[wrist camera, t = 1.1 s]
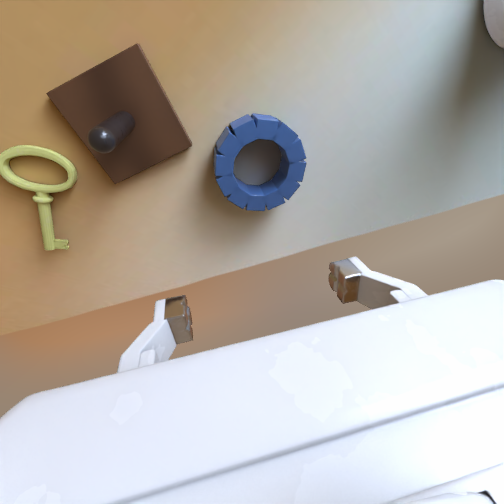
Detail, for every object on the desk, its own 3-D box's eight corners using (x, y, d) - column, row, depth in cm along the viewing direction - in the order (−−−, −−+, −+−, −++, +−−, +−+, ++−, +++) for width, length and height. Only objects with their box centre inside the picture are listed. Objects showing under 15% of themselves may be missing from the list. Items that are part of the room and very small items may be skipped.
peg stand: (139, 44, 27) (111, 34, 18) (192, 143, 32) (190, 172, 24) (51, 92, 28) (-17, 105, 19) (117, 180, 33) (89, 222, 25)
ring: (280, 97, 31) (289, 101, 28) (306, 178, 37) (315, 188, 34) (198, 138, 32) (198, 146, 29) (235, 211, 38) (238, 223, 35)
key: (53, 246, 37) (45, 255, 35) (-8, 149, 30) (-20, 154, 28) (109, 235, 37) (104, 244, 35) (63, 138, 30) (54, 142, 28)
